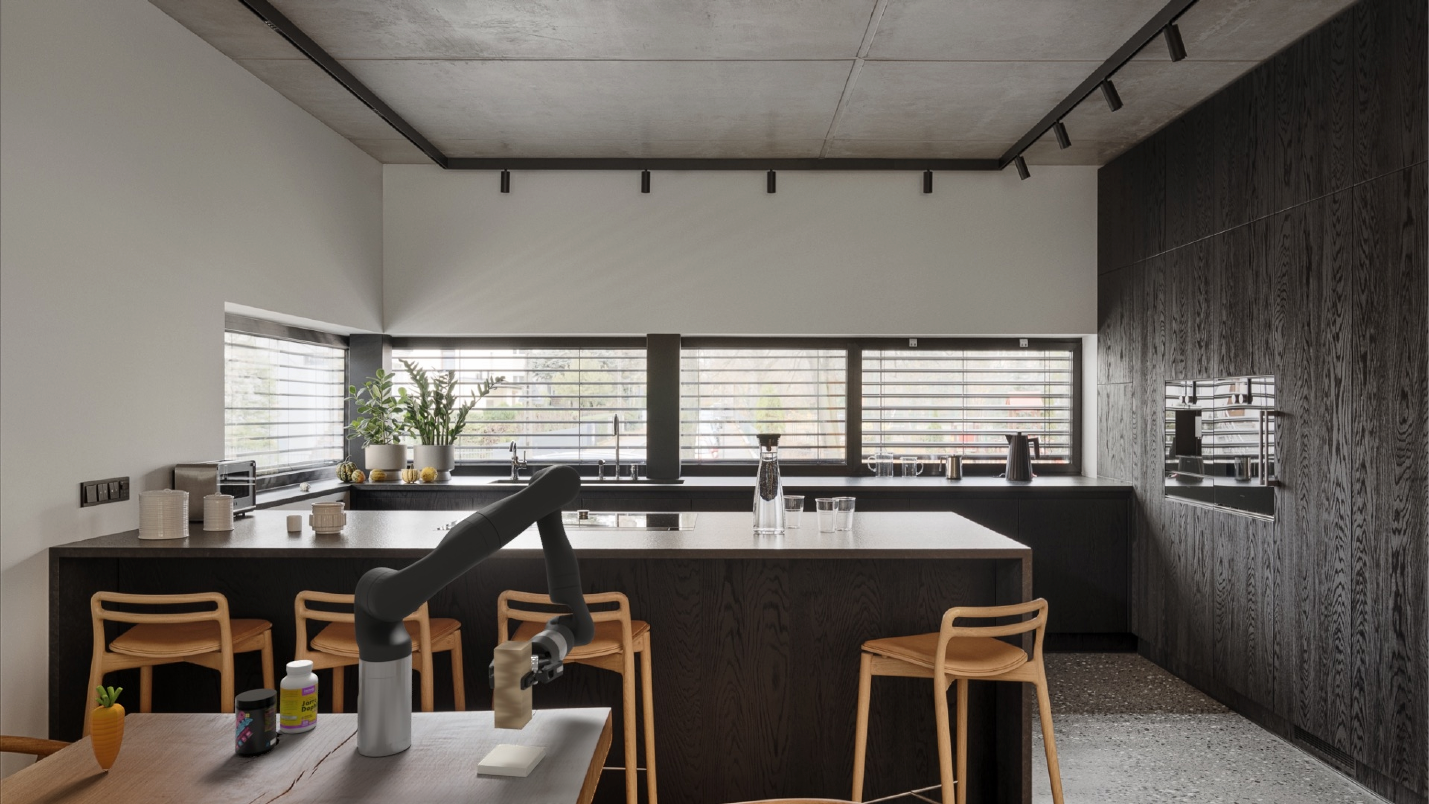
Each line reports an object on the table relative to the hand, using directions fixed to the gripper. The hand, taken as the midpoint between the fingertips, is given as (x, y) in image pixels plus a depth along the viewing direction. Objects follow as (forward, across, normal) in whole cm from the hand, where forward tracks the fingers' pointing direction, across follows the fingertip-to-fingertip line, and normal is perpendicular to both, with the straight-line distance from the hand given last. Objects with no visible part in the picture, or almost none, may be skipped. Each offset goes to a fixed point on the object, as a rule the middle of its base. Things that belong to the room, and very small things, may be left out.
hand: (507, 683), depth 142 cm
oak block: (-3, 0, +8) cm, 8 cm away
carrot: (+12, -69, +15) cm, 71 cm away
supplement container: (0, -49, +15) cm, 52 cm away
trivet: (-2, 0, +15) cm, 15 cm away
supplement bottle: (-11, -49, +15) cm, 52 cm away
